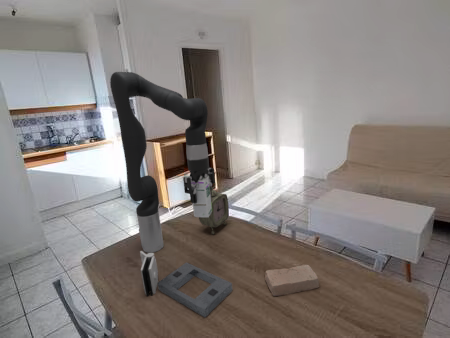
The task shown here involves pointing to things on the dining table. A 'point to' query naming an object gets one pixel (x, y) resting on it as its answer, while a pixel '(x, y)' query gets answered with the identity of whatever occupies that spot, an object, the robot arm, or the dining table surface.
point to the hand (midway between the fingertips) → (201, 199)
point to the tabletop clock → (217, 210)
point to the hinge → (149, 273)
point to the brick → (291, 280)
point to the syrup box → (202, 199)
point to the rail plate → (205, 299)
